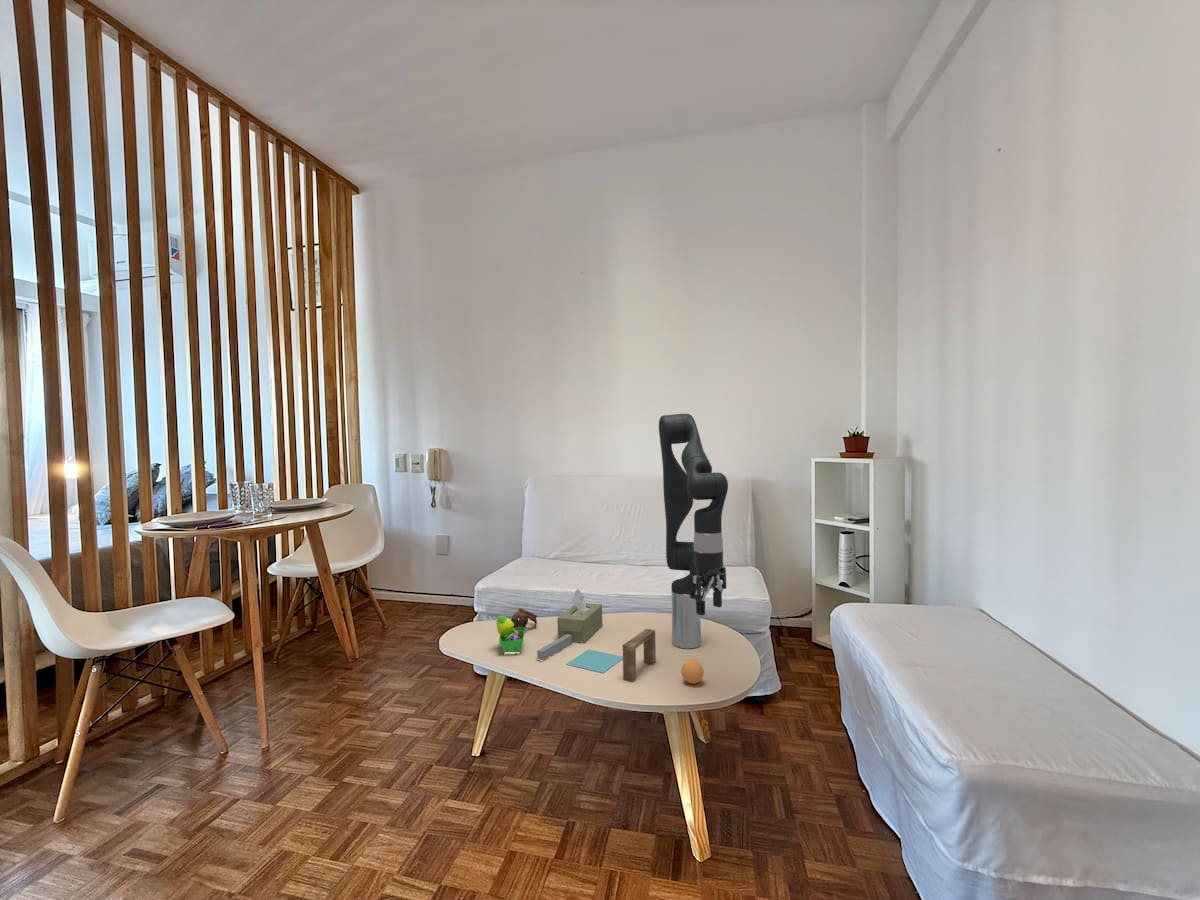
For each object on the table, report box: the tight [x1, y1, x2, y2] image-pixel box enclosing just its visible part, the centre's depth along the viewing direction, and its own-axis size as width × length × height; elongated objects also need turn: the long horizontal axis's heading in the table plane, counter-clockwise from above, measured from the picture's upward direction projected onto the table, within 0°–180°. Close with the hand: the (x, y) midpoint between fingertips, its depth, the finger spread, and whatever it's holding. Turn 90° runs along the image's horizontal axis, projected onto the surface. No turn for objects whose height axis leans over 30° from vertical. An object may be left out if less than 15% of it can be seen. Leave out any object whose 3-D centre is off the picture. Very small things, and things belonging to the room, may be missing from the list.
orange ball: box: [680, 659, 704, 684], centre depth 147 cm, size 6×6×6 cm
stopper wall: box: [536, 634, 573, 660], centre depth 170 cm, size 16×2×3 cm, turn 149°
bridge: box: [622, 628, 657, 683], centre depth 155 cm, size 3×15×10 cm, turn 149°
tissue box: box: [556, 588, 603, 645], centre depth 187 cm, size 19×10×16 cm, turn 161°
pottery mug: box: [510, 607, 538, 629], centre depth 192 cm, size 12×9×8 cm
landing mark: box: [566, 648, 623, 674], centre depth 163 cm, size 13×13×1 cm
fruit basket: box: [495, 614, 526, 653], centre depth 173 cm, size 11×9×11 cm
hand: (709, 610), depth 141 cm, fingers open, 8 cm apart
